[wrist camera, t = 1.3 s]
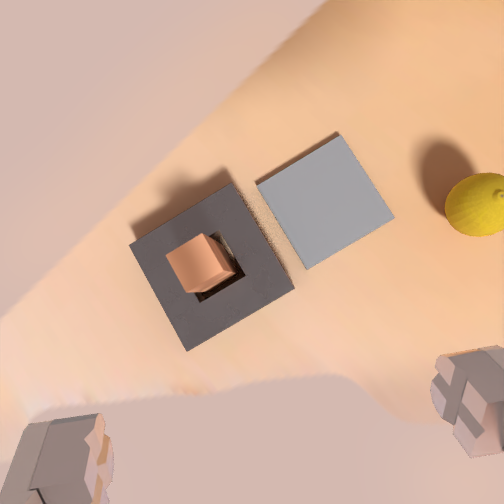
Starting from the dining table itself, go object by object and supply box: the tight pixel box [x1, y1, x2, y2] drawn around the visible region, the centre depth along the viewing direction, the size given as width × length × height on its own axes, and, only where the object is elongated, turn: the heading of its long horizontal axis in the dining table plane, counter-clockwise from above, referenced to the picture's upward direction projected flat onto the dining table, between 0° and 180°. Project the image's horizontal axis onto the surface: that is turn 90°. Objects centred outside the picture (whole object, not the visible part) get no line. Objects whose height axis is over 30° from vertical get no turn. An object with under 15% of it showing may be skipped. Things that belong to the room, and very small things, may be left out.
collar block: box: [129, 183, 295, 351], centre depth 42 cm, size 12×12×3 cm
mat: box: [257, 135, 395, 270], centre depth 42 cm, size 10×10×1 cm
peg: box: [166, 233, 239, 293], centre depth 39 cm, size 4×4×9 cm
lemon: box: [445, 173, 504, 237], centre depth 37 cm, size 6×6×8 cm
